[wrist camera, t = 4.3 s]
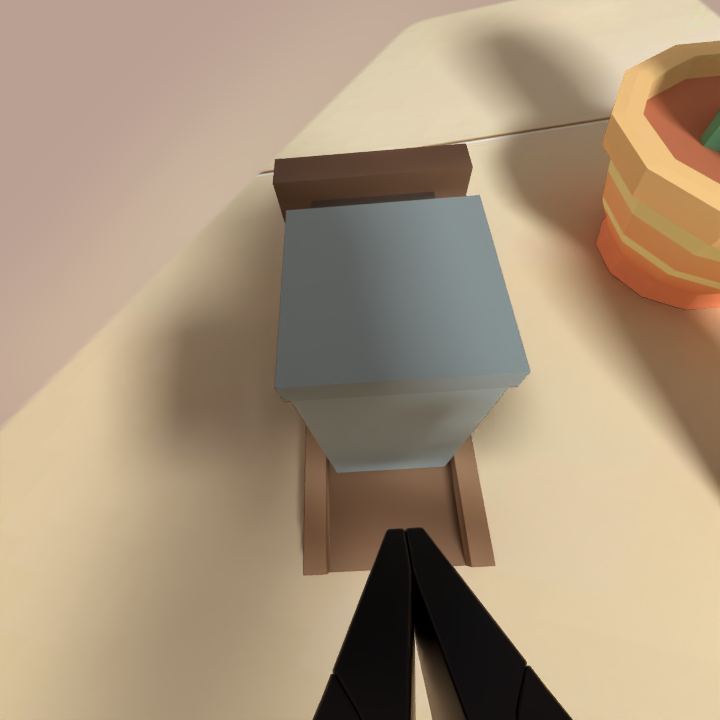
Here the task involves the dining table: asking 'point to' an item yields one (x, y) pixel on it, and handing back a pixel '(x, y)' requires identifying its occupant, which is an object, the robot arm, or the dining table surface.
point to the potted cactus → (666, 178)
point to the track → (399, 486)
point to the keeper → (394, 329)
